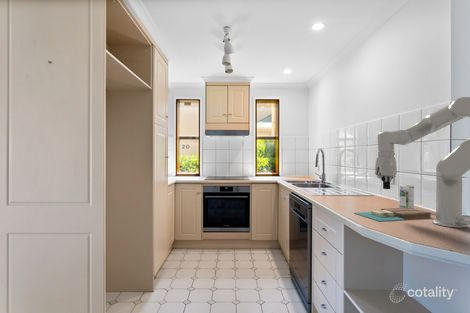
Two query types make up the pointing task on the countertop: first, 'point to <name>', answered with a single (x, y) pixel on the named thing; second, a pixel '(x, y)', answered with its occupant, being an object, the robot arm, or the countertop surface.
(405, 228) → the countertop surface
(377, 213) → the birch tile
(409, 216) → the walnut deck
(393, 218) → the teal mat
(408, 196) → the syrup box
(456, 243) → the countertop surface
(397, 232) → the countertop surface
